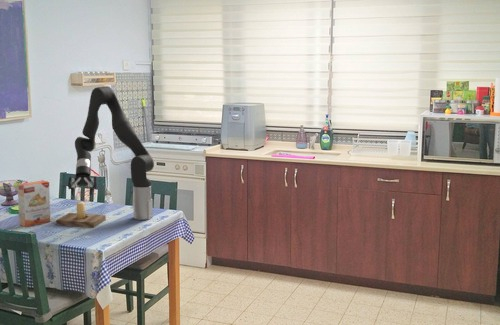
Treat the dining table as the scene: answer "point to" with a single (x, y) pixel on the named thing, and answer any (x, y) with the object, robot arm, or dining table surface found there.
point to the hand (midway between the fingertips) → (81, 195)
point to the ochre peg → (80, 210)
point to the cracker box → (34, 203)
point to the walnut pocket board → (81, 220)
